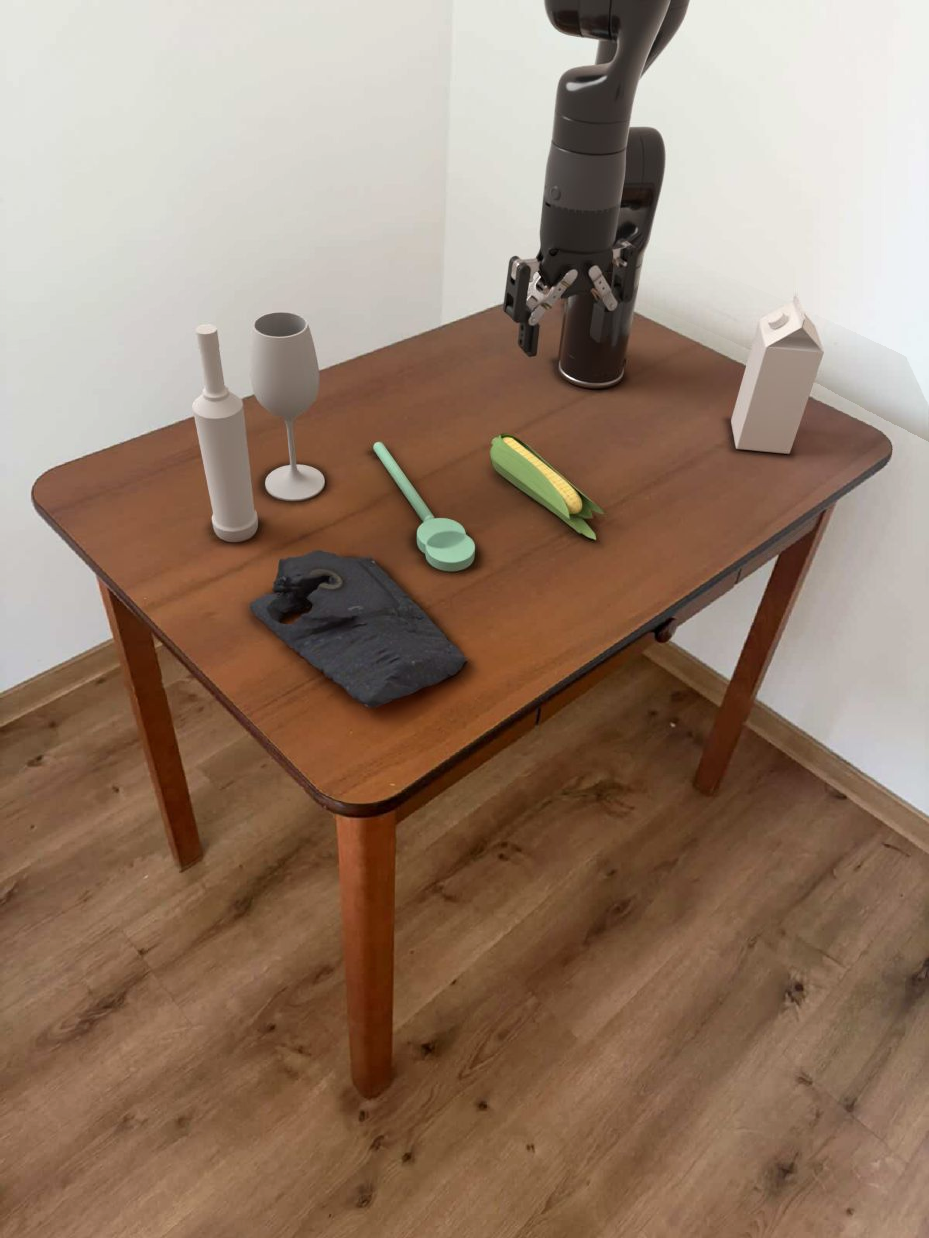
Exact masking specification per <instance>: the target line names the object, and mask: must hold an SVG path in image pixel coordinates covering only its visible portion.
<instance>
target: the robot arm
mask: <svg viewBox="0 0 929 1238" xmlns="http://www.w3.org/2000/svg"><path fill="white" fill-rule="evenodd" d="M690 1H691V0H543V7H544V11H545V14H546V17H547V19H548V21H549V23H550V24H551V26H552V27H553V28H554V29H555V30H556V31H558V32H559V33H560V34H564V35H565V36H569V37H575V38H581V39H582V38H583V39H589V40H590V39H591V40H596V41H598V42H597V49H596V54H595V59H594V64H590V65H581V66H576V67H572V68H569V69H567V70H566V71H564V72H562V74H561V76H560V77H559V80H558V82H557V86H556V92H555V100H554V111H553V119H552V131H551V140H550V147H549V151H548V155H547V159H546V166H545V174H544V182H543V183H544V185H543V195H542V203H541V214H540V225H539V242H540V246H539V250H538V252H537V254H536V256H535V258H526V259H525V258H524V259H522V258H520V257H519V256H518V255H513V256H511V257H510V259H508V268H507V273H506V274H507V275H506V283H505V290H504V297H503V305H502V310H503V312H504V313H505V314H506V315H507V316H508V317H509V318H510V319H511V320H512V321H513V322H514V323H516V324H519V327H518V335H517V337H518V338H517V345H518V347H519V348H520V349H521V350H522V352H523V353H524V354H525V355H526V356H527V357H528V358H532V357H537V356H538V346H539V338H540V329H541V328H540V326H541V325H540V323H539V322H540V320H541V319H542V318H543V316H544V315H545V313H546V312H547V311H548V310H552V309H553V308H554V306H555V305H556V304H557V303H558V301H559V300H560V299H562V300H564V299H566V300H565V302H564V307H563V314H562V322H561V331H560V338H559V346H558V354H557V363H558V373H559V375H560V376H561V377H562V378H563V379H564V381H567V382H568V383H570V384H572V385H574V386H577V387H581V388H586V389H595V390H597V389H607V388H610V387H613V386H616V385H617V384H619V383H620V382H621V381H622V379H623V378H624V372H625V370H624V369H625V365H626V363H627V352H628V347H629V341H630V335H631V329H632V323H633V319H634V313H635V307H636V302H637V297H638V291H639V285H640V280H641V273H642V268H643V263H644V258H645V253H646V250H647V248H648V246H649V244H650V240H651V236H652V230H653V226H654V220H655V217H656V213H657V208H658V205H659V200H660V196H661V192H662V188H663V183H664V178H665V177H664V176H665V171H666V156H667V155H666V145H665V141H664V138H663V136H662V134H661V132H660V131H659V130H658V129H657V128H655V127H651V126H631V120H632V115H633V114H632V113H633V107H634V102H635V98H636V93H637V90H638V87H639V83H640V81H641V79H642V78H643V77H644V75H645V74H646V73H647V72H648V71H649V69H650V67H652V65H653V64H654V63H655V62H656V60H657V59H658V58H659V57H660V55H661V54H662V53H663V51H664V50H665V49H666V48H667V46H668V45H669V44H670V43H671V41H672V40H673V39H674V37H675V36H676V34H677V32H678V31H679V29H680V28H681V26H682V24H683V22H684V20H685V17H686V14H687V13H688V10H689V5H690ZM536 273H537V274H538V275H537V276H536V277H535V279H534V276H535V274H536ZM530 283H532V284H531V285H530ZM545 288H547V290H549V291H548V292H547V293H546V294H545V293H544V289H545Z"/></svg>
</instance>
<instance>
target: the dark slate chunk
mask: <svg viewBox="0 0 929 1238" xmlns="http://www.w3.org/2000/svg"><path fill="white" fill-rule="evenodd" d="M271 591H272V592H273V593H265V594H263V595H262V596H260V597H257V598H255V599H254V600H252V601H250V602H249V610H250V612H253V613H254V615H255V616H256V617H257V618H258V619H259V620H260V621H262V622H263V623H264V624H265V625H266V627H268V628H269V629H270V630H271V631H272V632H273V633H274V634H275V635H276V636H277V637H278V638H279V639H280V640H281V641H282V642H285V644H286V645H287V646H288V647H289V648H291V649H294V651H295V653H296V654H299V655H300V657H303V658H304V659H306V660H307V661H308V662H309V664H310V665H311V666H312V667H314V668H315V669H316V670H318V671H320V672H321V673H323V674H324V675H325V676H326V677H327V678H328V679H330V680H331V681H333V682H334V683H335V684H337V685H338V686H339V687H340V688H342V689H344V690H345V691H346V693H347V694H348V695H350V697H351V698H352V699H353V700H355V701H356V702H358V703H360V704H362V705H364V706H365V707H367V708H371V709H374V708H377V707H380V706H383V705H385V704H387V703H390V702H392V701H395V700H398V699H401V698H403V697H406V696H410V695H412V694H413V693H417V692H418V691H419V690H422V689H423V688H426V687H432V686H434V685H435V686H436V685H437V684H439V683H440V682H442V681H444V680H446V679H447V678H450V677H453V676H454V675H456V674H457V673H458V672H459V671H460V670H462V668H463V665H464V664H466V663H469V660H468V658H467V657H465V654H463V653H462V652H461V650H460V649H459V647H457V645H455V644H454V643H453V642H451V641H450V640H448V639H447V636H446V635H445V633H444V632H442V631H441V629H440V628H439V627H438V626H437V625H435V623H434V622H433V620H432V619H431V618H430V617H429V616H428V615H427V613H426V612H425V611H424V610H423V609H421V607H420V606H419V605H418V604H416V603H415V602H414V601H413V599H412V598H411V596H410V595H409V594H408V593H406V592H405V591H404V590H403V589H402V588H401V587H400V586H399V585H398V583H396V581H395V580H393V579H391V577H390V576H389V575H388V574H387V571H385V570H384V569H382V568H381V567H380V566H379V565H378V564H377V563H376V561H375V560H374V559H373V558H372V557H371V556H365V557H364V556H358V557H357V558H356V557H342V556H340V555H337V554H336V553H334V552H329V551H325V550H322V549H317V550H313V551H309V552H307V553H305V554H302V555H299V556H298V555H297V556H288V557H286V558H280V559H279V561H278V567H277V572H276V576H275V580H274V581H273V586H272V589H271ZM310 607H311V610H310V611H308V609H309V608H310ZM305 610H307V612H306V613H302V614H301V615H300V617H299V618H297V619H295V621H294V624H287V623H282V622H281V621H282V620H283V618H285V617H289V616H291V615H292V614H295V613H301V612H302V611H305Z"/></svg>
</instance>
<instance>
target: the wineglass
mask: <svg viewBox="0 0 929 1238" xmlns="http://www.w3.org/2000/svg"><path fill="white" fill-rule="evenodd" d="M249 348H250V350H249V377H250V383H251V387H252V388H251V389H252V391H253V392H252V393H253V395H254V397H255V398H256V400H257V402H258V403H259V405H260V406H261V407H263V408H264V409H265V410H266V411H267V412H268V413H270V414H272V415H274V416H276V417H278V418H279V419H282V420H283V421H284V423H285V427H286V435H287V443H288V453H289V454H288V455H289V464H288V465H283V466H280V467H278V468H275V469H274V470H272V471H271V472H270V473H269V474H268V475H267V476H266V478H265V481H264V482H265V483H264V486H265V489H266V491H267V492H268V494H269V495H270V496H272V497H273V498H276V499H278V500H282V501H287V502H301V501H305V500H306V501H307V500H309V499H311V498H314V497H315V496H317V495H319V494H320V493H321V492H322V491H323V489H324V487H325V482H326V481H325V477H324V475H323V473H322V472H321V471H320V470H319V469H317V468H315V467H312V466H310V465H305V464H298V463H297V456H296V445H295V433H294V421H295V420H296V418H299V417H300V416H301V415H303V414H304V413H306V412H307V411H308V410H309V409H310V408H311V407H312V405H313V404H314V403H315V401H316V399H317V397H318V394H319V391H320V368H319V363H318V356H317V352H316V347H315V342H314V339H313V335H312V332H311V328H310V326H309V323H308V320H307V319H306V318H305V317H304V316H302V315H301V314H298V313H295V312H291V311H272V312H267V313H263V314H261V315H259V316H258V317H257V318H255V319H254V320H253V321H252V326H251V333H250V346H249Z"/></svg>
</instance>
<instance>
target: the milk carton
mask: <svg viewBox="0 0 929 1238" xmlns="http://www.w3.org/2000/svg"><path fill="white" fill-rule="evenodd" d="M824 353H825V352H824V347H823V346H822V343H821V339H820V336H819V334H818V331H817V327H816V326H815V323H814V322H813V321H812V319H810V317H809V316H808V315H807V314H806V313H805V312H804V310H803V307H802V304H801V300H800V298H799V295H798V292H795V293H794V295H793V299H792V300H791V301H789V302H788V303H786V304H784V305H782V306H780V307H779V308H777V309H776V310H774V311H772V312H771V313H768V314H766V315H765V316H763V317H761V318H760V319H759V320H758V322H757V326H756V330H755V333H754V336H753V341H752V344H751V347H750V351H749V353H748V359H747V363H746V366H745V368H744V372H743V377H742V379H741V383H740V388H739V391H738V394H737V398H736V401H735V405H734V408H733V412H732V416H731V419H730V423H731V429H732V434H733V440H734V445H735V449H737V450H744V451H745V450H746V451H747V450H748V451H755V452H765V453H776V454H785V455H786V454H787V455H789V454H791V451H792V448H793V445H794V442H795V439H796V436H797V433H798V430H799V428H800V424H801V421H802V418H803V416H804V413H805V410H806V406H807V404H808V400H809V397H810V395H811V392H812V389H813V386H814V383H815V380H816V376H817V373H818V372H819V368H820V365H821V362H822V359H823V356H824Z"/></svg>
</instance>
